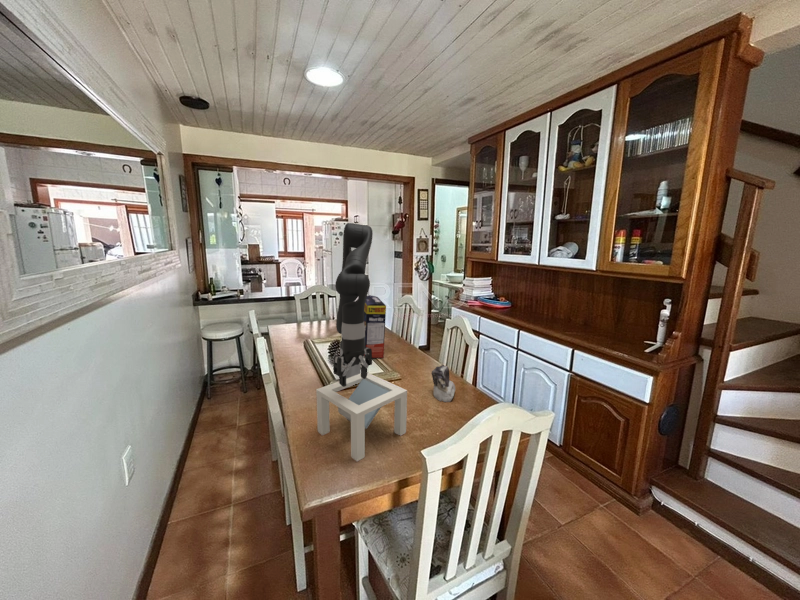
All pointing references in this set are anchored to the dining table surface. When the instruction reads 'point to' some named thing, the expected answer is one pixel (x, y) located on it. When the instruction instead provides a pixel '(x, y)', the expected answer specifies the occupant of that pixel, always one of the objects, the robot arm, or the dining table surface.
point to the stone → (442, 384)
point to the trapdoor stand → (360, 409)
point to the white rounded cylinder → (344, 414)
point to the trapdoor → (367, 397)
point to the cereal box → (374, 325)
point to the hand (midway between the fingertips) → (353, 381)
